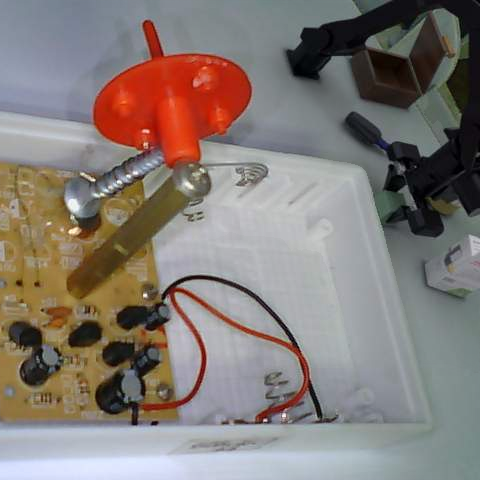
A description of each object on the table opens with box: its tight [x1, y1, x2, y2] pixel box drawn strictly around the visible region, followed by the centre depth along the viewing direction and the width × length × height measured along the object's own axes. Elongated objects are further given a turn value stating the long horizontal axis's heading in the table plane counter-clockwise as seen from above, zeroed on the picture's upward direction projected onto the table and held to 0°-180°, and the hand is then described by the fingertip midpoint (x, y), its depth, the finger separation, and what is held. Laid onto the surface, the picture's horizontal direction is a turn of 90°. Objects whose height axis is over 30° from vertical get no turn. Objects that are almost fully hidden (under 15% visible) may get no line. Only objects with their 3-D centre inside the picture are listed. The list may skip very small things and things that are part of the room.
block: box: [373, 190, 408, 227], centre depth 148 cm, size 5×5×5 cm
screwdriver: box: [344, 110, 391, 152], centre depth 158 cm, size 26×4×4 cm, turn 65°
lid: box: [408, 10, 456, 95], centre depth 163 cm, size 13×11×5 cm
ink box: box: [424, 234, 480, 298], centre depth 142 cm, size 9×5×15 cm, turn 84°
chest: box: [349, 45, 423, 110], centre depth 168 cm, size 13×11×5 cm
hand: (384, 211), depth 149 cm, fingers closed on block, 4 cm apart
